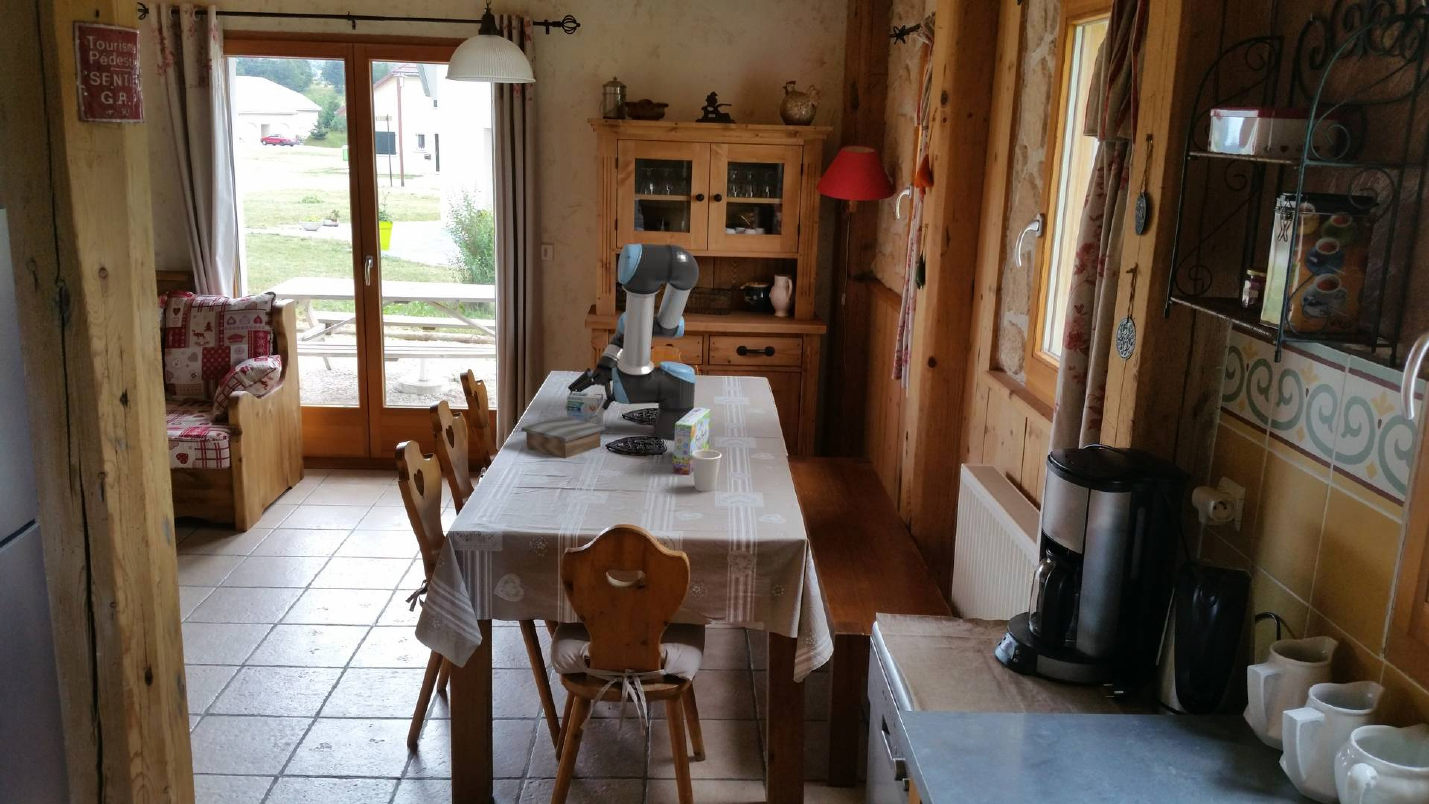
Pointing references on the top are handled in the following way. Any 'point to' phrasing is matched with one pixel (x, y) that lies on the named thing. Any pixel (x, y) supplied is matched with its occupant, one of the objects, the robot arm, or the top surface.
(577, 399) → the light bulb box
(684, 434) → the snack box
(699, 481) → the dixie cup
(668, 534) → the top surface
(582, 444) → the podium
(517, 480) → the top surface
